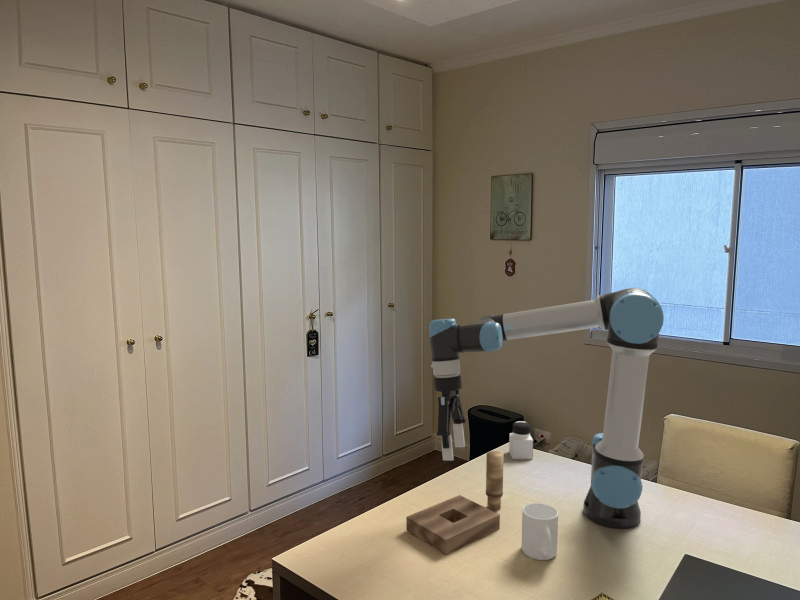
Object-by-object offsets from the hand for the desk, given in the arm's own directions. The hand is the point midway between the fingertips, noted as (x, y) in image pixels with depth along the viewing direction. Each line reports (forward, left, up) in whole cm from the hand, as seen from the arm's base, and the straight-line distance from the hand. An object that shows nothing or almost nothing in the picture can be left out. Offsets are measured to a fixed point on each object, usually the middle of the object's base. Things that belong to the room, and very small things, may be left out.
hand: (454, 453), depth 158 cm
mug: (-26, -4, -19) cm, 33 cm away
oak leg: (-2, -14, -19) cm, 24 cm away
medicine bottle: (+18, -51, -19) cm, 57 cm away
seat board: (-4, +4, -19) cm, 20 cm away
